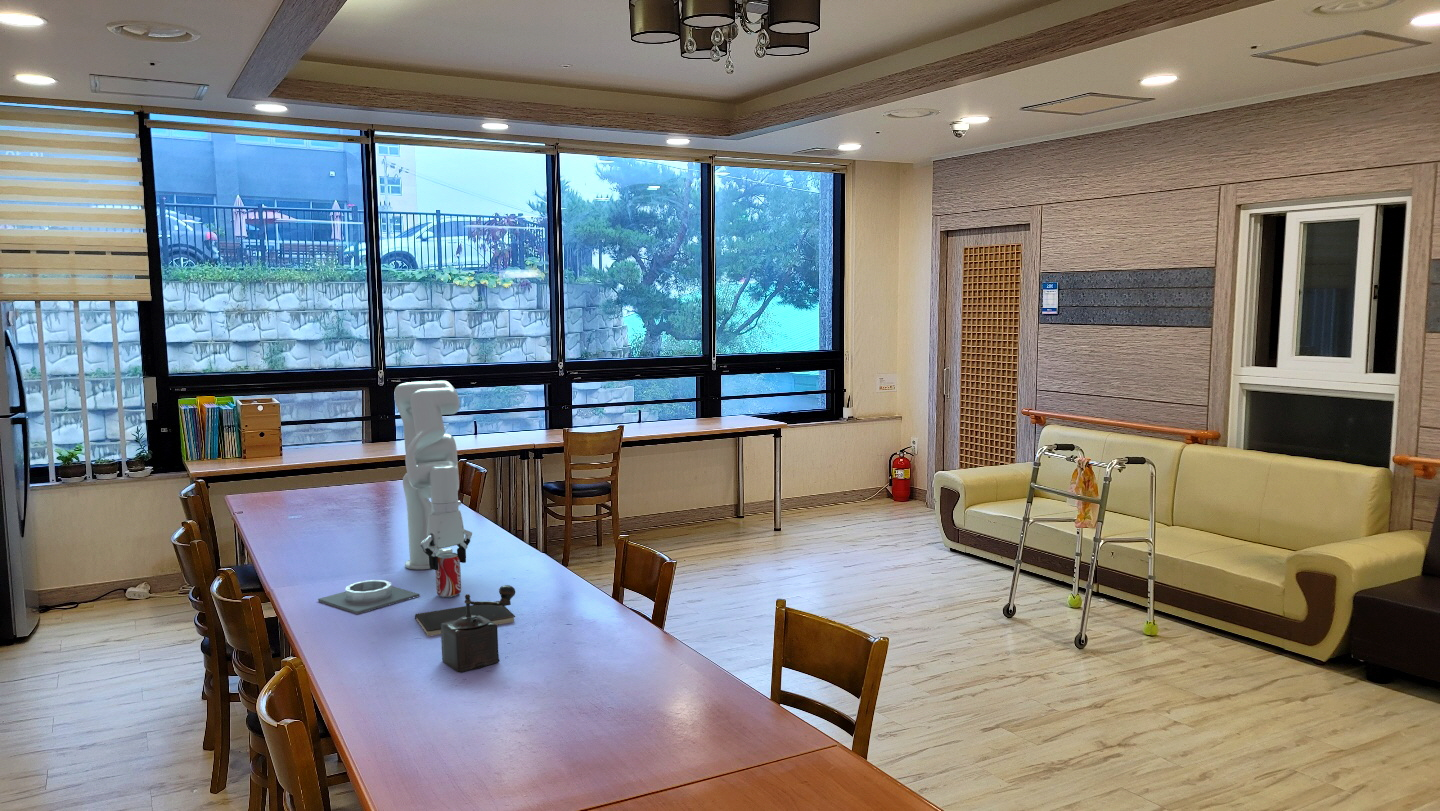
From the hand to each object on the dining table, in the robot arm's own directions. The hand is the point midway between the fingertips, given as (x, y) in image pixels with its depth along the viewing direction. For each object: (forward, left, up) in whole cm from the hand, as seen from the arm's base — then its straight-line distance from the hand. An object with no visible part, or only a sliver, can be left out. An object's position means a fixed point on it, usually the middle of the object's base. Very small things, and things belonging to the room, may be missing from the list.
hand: (448, 565), depth 290 cm
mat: (+16, -17, -9) cm, 25 cm away
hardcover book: (+12, +22, -10) cm, 27 cm away
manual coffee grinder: (+28, +49, -9) cm, 57 cm away
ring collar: (+16, -17, -9) cm, 25 cm away
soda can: (0, -1, -9) cm, 9 cm away
